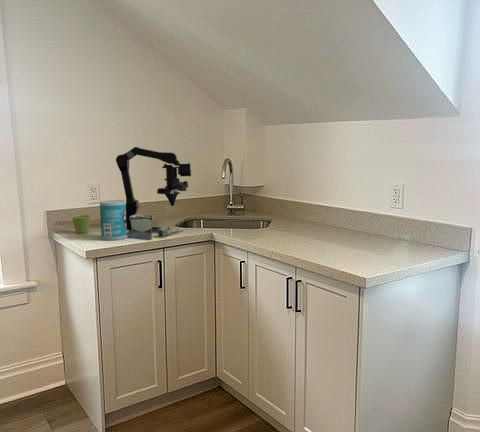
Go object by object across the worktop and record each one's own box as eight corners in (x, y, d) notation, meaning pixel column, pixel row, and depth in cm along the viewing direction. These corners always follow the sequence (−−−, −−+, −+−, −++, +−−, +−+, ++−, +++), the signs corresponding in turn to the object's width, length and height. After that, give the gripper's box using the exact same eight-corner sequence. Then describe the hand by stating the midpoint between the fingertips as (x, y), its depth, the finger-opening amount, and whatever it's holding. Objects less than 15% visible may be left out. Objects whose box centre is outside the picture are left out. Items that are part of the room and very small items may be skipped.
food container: (157, 233, 245) (156, 214, 244) (154, 236, 239) (153, 216, 238) (133, 233, 246) (133, 214, 245) (129, 236, 240) (129, 216, 239)
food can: (132, 237, 236) (130, 201, 233) (111, 242, 227) (109, 203, 224) (117, 234, 244) (115, 199, 241) (96, 238, 234) (94, 201, 232)
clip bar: (162, 236, 238) (161, 228, 238) (169, 234, 244) (169, 226, 243) (164, 236, 238) (164, 229, 237) (171, 234, 243) (171, 227, 242)
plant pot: (77, 235, 243) (76, 218, 241) (69, 233, 250) (68, 216, 248) (94, 233, 249) (93, 216, 247) (87, 230, 256) (86, 214, 254)
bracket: (125, 237, 238) (125, 231, 238) (146, 231, 252) (146, 225, 252) (150, 239, 231) (149, 233, 230) (170, 233, 245) (170, 227, 245)
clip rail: (157, 237, 236) (157, 229, 236) (178, 231, 252) (178, 223, 251) (162, 238, 235) (162, 229, 234) (183, 231, 250) (182, 224, 250)
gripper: (173, 178, 245) (174, 209, 247) (194, 175, 261) (194, 204, 263) (156, 177, 250) (157, 207, 252) (177, 175, 266) (178, 203, 269)
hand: (172, 205), depth 259 cm, fingers closed
